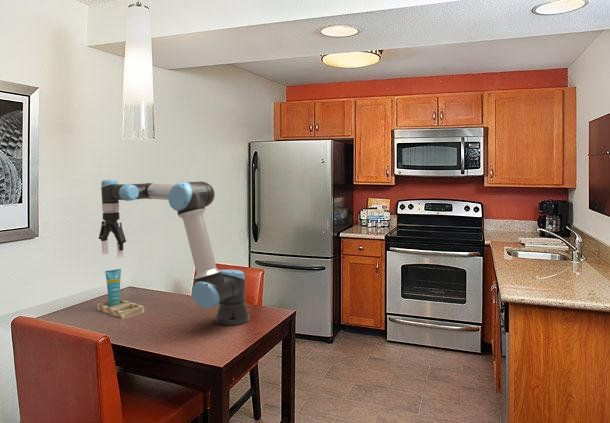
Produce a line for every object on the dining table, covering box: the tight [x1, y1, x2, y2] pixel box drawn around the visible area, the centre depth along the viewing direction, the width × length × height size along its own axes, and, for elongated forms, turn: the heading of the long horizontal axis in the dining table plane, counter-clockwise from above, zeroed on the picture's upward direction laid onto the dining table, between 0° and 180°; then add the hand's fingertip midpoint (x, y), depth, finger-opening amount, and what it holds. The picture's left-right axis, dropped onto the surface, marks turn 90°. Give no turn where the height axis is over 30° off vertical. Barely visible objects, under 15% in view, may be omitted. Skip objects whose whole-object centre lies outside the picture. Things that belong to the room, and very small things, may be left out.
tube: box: [104, 268, 122, 307], centre depth 229 cm, size 7×5×19 cm, turn 134°
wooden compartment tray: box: [96, 298, 145, 320], centre depth 226 cm, size 22×12×3 cm, turn 52°
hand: (112, 255), depth 227 cm, fingers open, 13 cm apart
